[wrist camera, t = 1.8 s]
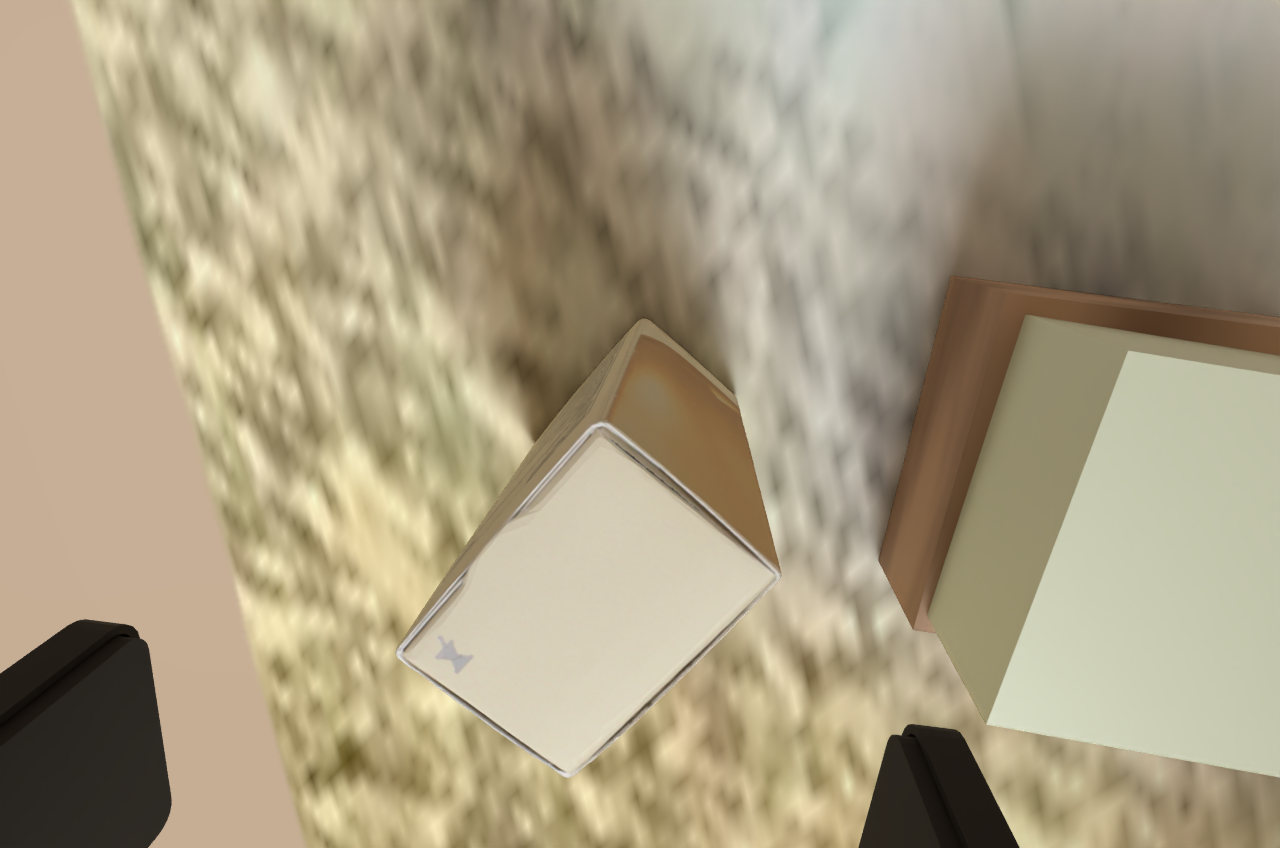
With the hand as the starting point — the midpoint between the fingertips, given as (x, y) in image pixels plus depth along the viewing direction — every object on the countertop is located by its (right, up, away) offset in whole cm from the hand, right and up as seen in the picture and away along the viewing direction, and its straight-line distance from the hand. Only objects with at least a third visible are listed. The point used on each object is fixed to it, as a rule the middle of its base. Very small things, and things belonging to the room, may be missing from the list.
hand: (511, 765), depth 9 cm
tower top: (+15, +2, +10) cm, 18 cm away
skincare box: (+1, +5, +15) cm, 16 cm away
